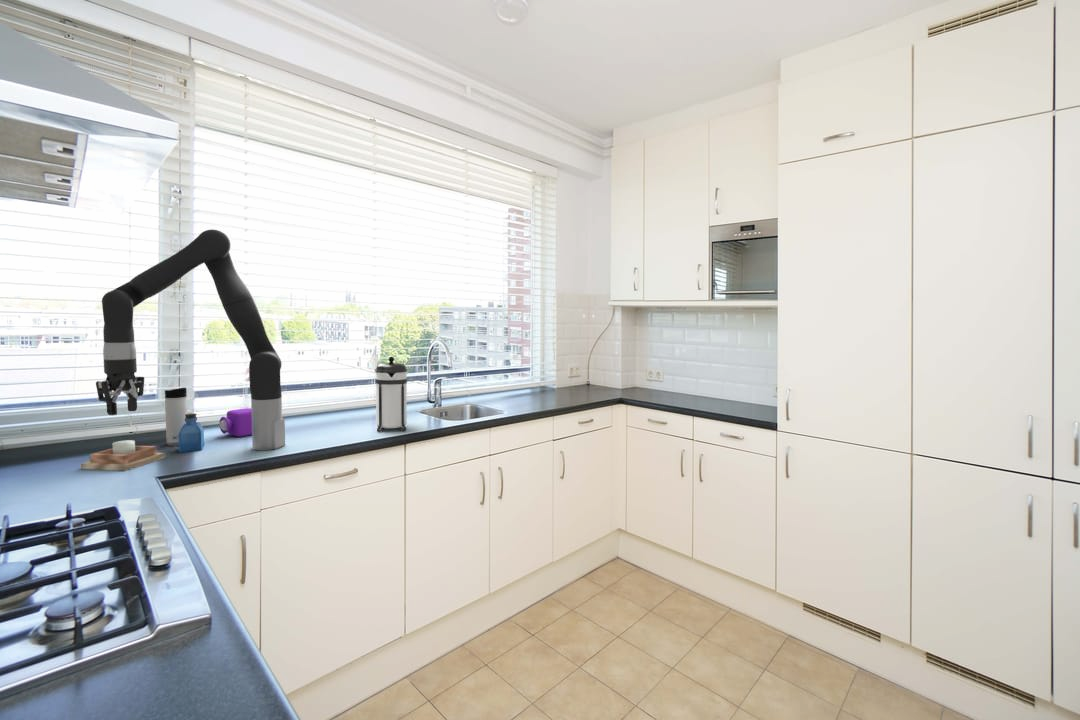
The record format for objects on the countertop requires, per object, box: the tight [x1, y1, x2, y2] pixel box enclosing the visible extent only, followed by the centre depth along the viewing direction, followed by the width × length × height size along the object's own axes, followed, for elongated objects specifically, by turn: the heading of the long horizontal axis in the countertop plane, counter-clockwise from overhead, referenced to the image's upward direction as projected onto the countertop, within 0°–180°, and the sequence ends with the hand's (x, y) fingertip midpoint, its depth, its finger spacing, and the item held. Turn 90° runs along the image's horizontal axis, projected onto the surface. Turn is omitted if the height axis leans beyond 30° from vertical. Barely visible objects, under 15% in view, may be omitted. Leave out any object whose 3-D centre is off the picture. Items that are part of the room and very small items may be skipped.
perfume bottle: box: [178, 412, 205, 453], centre depth 169 cm, size 6×6×12 cm
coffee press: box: [374, 356, 409, 433], centre depth 206 cm, size 17×16×30 cm
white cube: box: [112, 439, 136, 455], centre depth 152 cm, size 5×5×5 cm
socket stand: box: [80, 445, 166, 471], centre depth 152 cm, size 14×14×4 cm
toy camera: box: [218, 407, 252, 438], centre depth 190 cm, size 11×14×10 cm
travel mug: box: [164, 387, 189, 447], centre depth 175 cm, size 6×7×20 cm
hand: (122, 412), depth 151 cm, fingers open, 6 cm apart
